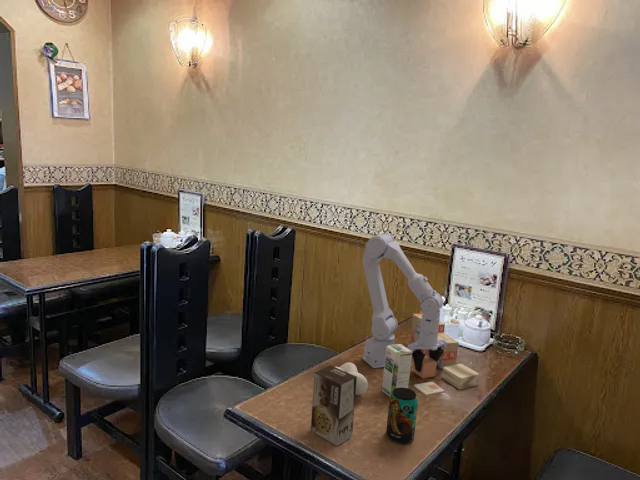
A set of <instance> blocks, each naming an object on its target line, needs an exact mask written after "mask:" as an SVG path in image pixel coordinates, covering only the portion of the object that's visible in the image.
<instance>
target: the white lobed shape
mask: <svg viewBox="0 0 640 480" xmlns="http://www.w3.org/2000/svg"><path fill="white" fill-rule="evenodd" d="M334 367H335V368H338V369H340V370H342V371H345V372H347V373H349V374H352V375H354V376H356V377H357V381H356V393H355V396H362V395H363V394H365V393H366V391H367V390H368V388H369V383H368V380H367V378H366V377H365V376H364V375H363V374H362V373H360V372H358V368H357V366H356V364H354V363H353V362H345V363H342V365H341V366H334Z"/></svg>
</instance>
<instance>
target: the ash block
mask: <svg viewBox="0 0 640 480" xmlns="http://www.w3.org/2000/svg"><path fill="white" fill-rule="evenodd" d="M441 372H442V373H441V379H442V380H444V381H445V382H447V383H449V384H450V385H452V386H453V387H455V388H457V389H458V390H463V389H467V388H471V387H475V386H478V385H479V381H480V373H479V372H477V371H475V370H473V369H471V368H470V367H468V366H466V365H465V364H463V363H457V364H456V365H452V366H447V367H443V368H442V371H441Z"/></svg>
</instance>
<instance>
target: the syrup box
mask: <svg viewBox="0 0 640 480" xmlns="http://www.w3.org/2000/svg"><path fill="white" fill-rule="evenodd" d="M412 360H413V356H412V351H411V350H409V349H408V348H407V346H405V345H403V344H402V343H401V344H399V343H397V344H395V343H394V345H389V346H387V347H386V355H385V365H384V367H383V375H382V383H381V384H382V386H381V392H383V393H384V394H385V395H387V396H388V397H389V398H390V396H391V394H392V393H393V390H394V389H396V388H408V389H409V383H410V376H411V367H412Z"/></svg>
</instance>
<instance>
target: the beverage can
mask: <svg viewBox="0 0 640 480" xmlns="http://www.w3.org/2000/svg"><path fill="white" fill-rule="evenodd" d="M418 406H419V400H418V397H417V393H416V392H415V391H414V390H413V389H410V388H409V387H408V388H396V389H394V390H393V393H392V394H391V396H390V397H389V401H388V410H387V411H388V412H387V419H386V430H385V431H386V435H387V437H388V438H389V439H390V440H391V441H392V442H394V443H396V444H397V443H398V444H408V443H410V442H411V441H413V440H414V438H415V433H416V424H417V416H418V415H417V414H418Z"/></svg>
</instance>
